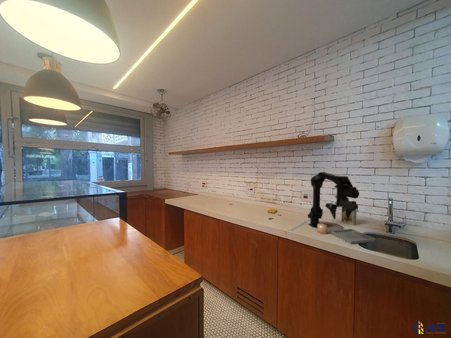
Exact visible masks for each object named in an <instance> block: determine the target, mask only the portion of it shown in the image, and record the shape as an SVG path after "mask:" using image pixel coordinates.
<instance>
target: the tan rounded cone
mask: <svg viewBox="0 0 451 338" xmlns="http://www.w3.org/2000/svg"><path fill="white" fill-rule="evenodd" d="M327 225H328V224H325V223H322V222H321V223H320V222H319V224H318V227H316V228H317V230H316V231H317V233H318V234H319V233H320V235H328V230H327V229H328V226H327Z"/></svg>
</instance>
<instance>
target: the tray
mask: <svg viewBox="0 0 451 338" xmlns="http://www.w3.org/2000/svg"><path fill="white" fill-rule="evenodd" d="M329 234H331V235H333V236H334V237H336V238H339V239H340V238H341V240H342V239H343V240H342V241H344V240H345V241H344V242H346V243H347V244H350V245H357V244H369V243H375V242H376V238H374V237H372V236H370V235H367V234H365V233H363V232H360V231H358V230H355V229H353V228H345V229H334V230H333V229H332V230H329Z"/></svg>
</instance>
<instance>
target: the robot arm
mask: <svg viewBox="0 0 451 338" xmlns="http://www.w3.org/2000/svg"><path fill="white" fill-rule="evenodd" d="M326 180H328V181H331V182H333V183H334V184H335V185H334V188H335V189H336V196H334V197H335V199H336V201H335V202H334V203H333V202H326V203H325V208H326V209H328V210H329V212H330V214H331V216H332V218H333V220H336V216H337V215H336V213H337V211H338V210H337V208H342V207H344V208H345V209H346V217H347V219H349V217H350V215H351V213H352V211H354V210H356V209H357V210H358V208H359V206H358V204H357V201H355V200H352V201H350V200H349V198H351V199H357V198H359V196H360V191H359V190H358V189H357V187H356V186H353V184H352V182H351V180H350V178H349V177H348V176H347V175H346V176H345V175H336V174H332V173H328V172H326V171H322V172H321V171H320V172H318V173H317V174H315V175H313V176H312V177H311V178H310V186H311V187H312V189H313V190H312V206H311V208H310V212H309V213H308V214H307V218H308V219H309V221H310V223H308V225H309V226H310V227H312V228H318V224H319V223H320V219H321V220H322V217H323V214H324V213H323V212H324V211H323V208H321V188H322V186H323V185H324V184H323V183H324V181H326Z"/></svg>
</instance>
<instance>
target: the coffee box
mask: <svg viewBox="0 0 451 338" xmlns="http://www.w3.org/2000/svg"><path fill="white" fill-rule="evenodd" d="M357 210H358V209H356V210H354V211H352V213H351V215H350V217H349V219H347V217H346V209H345V208H344V207H341V223H342V224H346V225H350V226H354V225H355V226H356V224H357Z"/></svg>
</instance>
